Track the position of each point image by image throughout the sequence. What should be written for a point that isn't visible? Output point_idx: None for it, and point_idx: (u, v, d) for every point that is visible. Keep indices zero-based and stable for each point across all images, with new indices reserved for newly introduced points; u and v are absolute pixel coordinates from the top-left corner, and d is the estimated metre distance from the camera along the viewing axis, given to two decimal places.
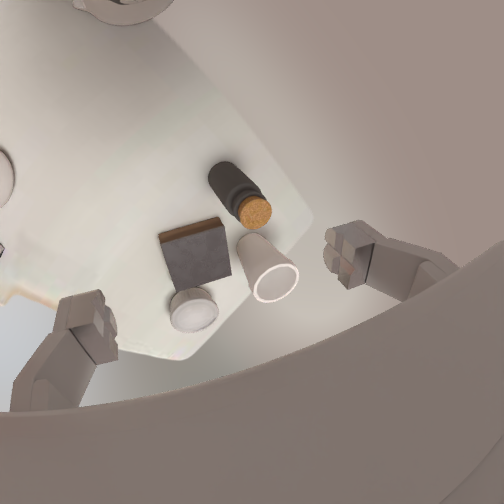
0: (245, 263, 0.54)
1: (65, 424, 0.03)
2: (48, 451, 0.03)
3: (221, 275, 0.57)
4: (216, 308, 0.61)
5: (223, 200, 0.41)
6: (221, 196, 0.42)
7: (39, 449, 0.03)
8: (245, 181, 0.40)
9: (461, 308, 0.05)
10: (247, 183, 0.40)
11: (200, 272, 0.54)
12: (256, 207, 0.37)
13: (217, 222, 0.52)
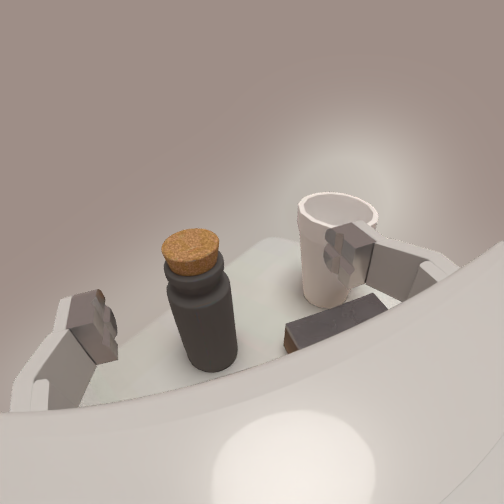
0: None
1: (65, 424, 0.03)
2: (48, 451, 0.03)
3: (378, 305, 0.30)
4: None
5: (203, 317, 0.23)
6: (202, 325, 0.23)
7: (39, 449, 0.03)
8: None
9: (461, 308, 0.05)
10: (167, 286, 0.24)
11: None
12: (175, 245, 0.22)
13: (287, 340, 0.29)
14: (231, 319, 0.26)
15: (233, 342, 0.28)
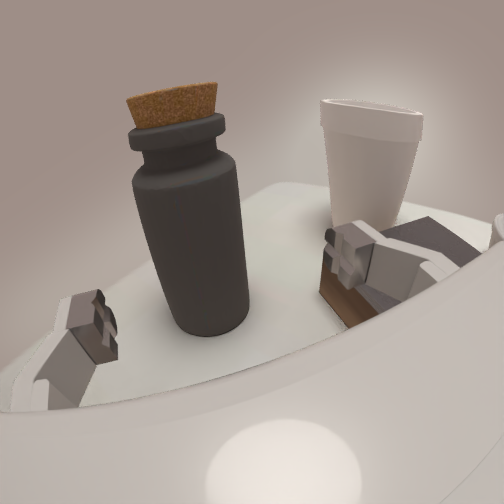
0: (383, 183, 0.21)
1: (65, 424, 0.03)
2: (48, 451, 0.03)
3: (440, 229, 0.20)
4: (498, 216, 0.19)
5: (189, 209, 0.13)
6: (188, 228, 0.13)
7: (39, 449, 0.03)
8: None
9: (461, 308, 0.05)
10: None
11: (462, 263, 0.16)
12: None
13: (326, 279, 0.19)
14: (239, 230, 0.16)
15: (243, 280, 0.18)
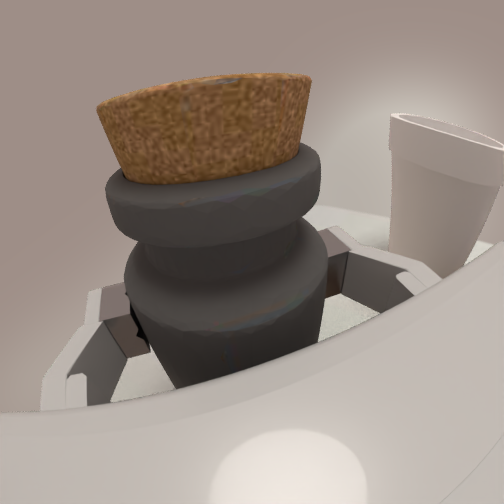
0: (465, 235, 0.14)
1: (65, 424, 0.03)
2: (48, 451, 0.03)
3: None
4: None
5: (252, 360, 0.06)
6: None
7: (39, 449, 0.03)
8: None
9: (461, 308, 0.05)
10: (128, 261, 0.08)
11: None
12: None
13: None
14: None
15: None
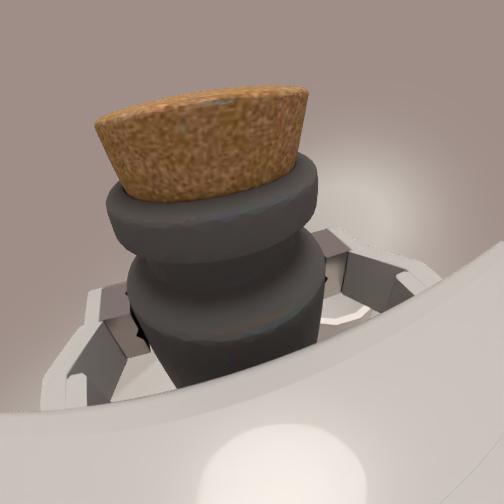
0: None
1: (65, 424, 0.03)
2: (48, 451, 0.03)
3: None
4: None
5: None
6: None
7: (39, 449, 0.03)
8: None
9: (461, 308, 0.05)
10: (130, 270, 0.08)
11: None
12: (147, 103, 0.05)
13: None
14: None
15: None
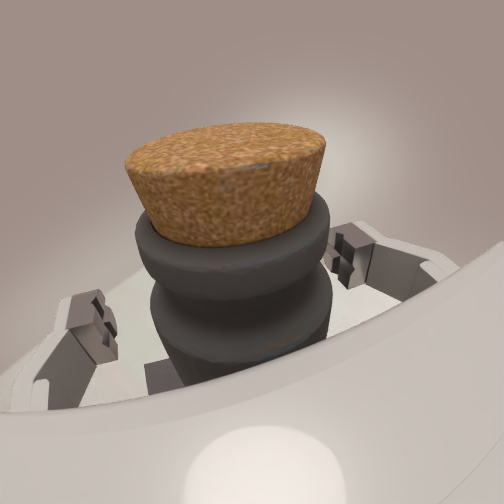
0: None
1: (65, 424, 0.03)
2: (48, 451, 0.03)
3: None
4: None
5: None
6: None
7: (39, 449, 0.03)
8: None
9: (461, 308, 0.05)
10: None
11: None
12: (174, 145, 0.06)
13: None
14: None
15: None
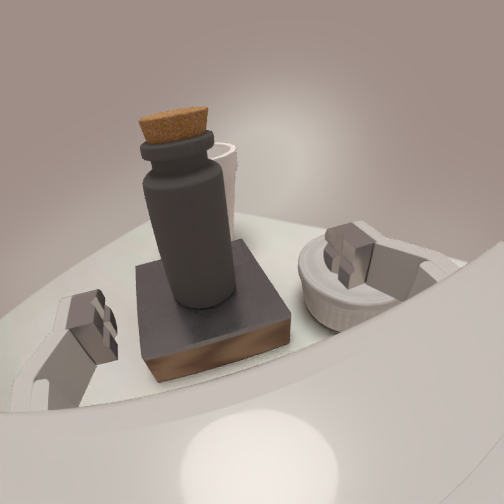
0: None
1: (65, 424, 0.03)
2: (48, 451, 0.03)
3: (241, 250, 0.29)
4: (323, 236, 0.28)
5: (186, 204, 0.17)
6: (186, 219, 0.18)
7: (39, 449, 0.03)
8: None
9: (461, 308, 0.05)
10: None
11: None
12: (155, 115, 0.16)
13: None
14: (225, 221, 0.20)
15: (229, 261, 0.22)
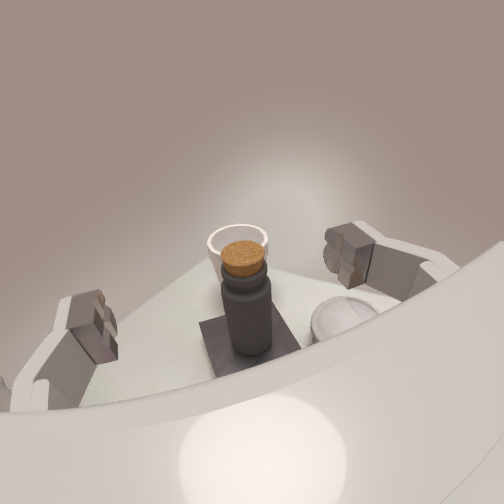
0: None
1: (65, 424, 0.03)
2: (48, 451, 0.03)
3: (272, 311, 0.42)
4: (327, 301, 0.42)
5: (253, 308, 0.30)
6: (251, 315, 0.31)
7: (39, 449, 0.03)
8: (221, 291, 0.32)
9: (461, 308, 0.05)
10: (221, 287, 0.32)
11: None
12: (231, 254, 0.29)
13: None
14: (271, 309, 0.33)
15: (271, 329, 0.35)
